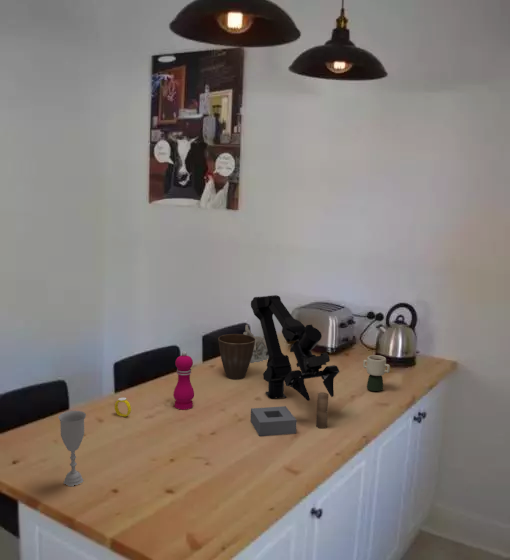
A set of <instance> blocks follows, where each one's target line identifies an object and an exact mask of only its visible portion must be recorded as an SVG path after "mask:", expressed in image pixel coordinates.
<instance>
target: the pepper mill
mask: <svg viewBox="0 0 510 560" xmlns="http://www.w3.org/2000/svg"><path fill="white" fill-rule="evenodd" d="M174 363H175V367H176V374H177V383H176V386H175V388H174V391H173V395H172V396H173V398H174V408H175V409H177V410H183V411H184V410H190V409H192V408H193V405H194V404H193V403H194V402H193V399H194V397H195V391H194V387H193V386H192V383H191V374H192V367H193V365H194V361H193V359H192V357H191V356H189V355H188V353H187V351H185V350H183V351H182V352H181V355H180V356H178V357H177V358H176V359H175V362H174Z"/></svg>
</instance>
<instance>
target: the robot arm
mask: <svg viewBox="0 0 510 560" xmlns="http://www.w3.org/2000/svg"><path fill="white" fill-rule="evenodd" d="M250 306H251V307H250V308H251V309H252V312H253V315H254V316H255V317H256V319H258V320H259V322H260V325H261V329H262V334H263V336H264V338H265V342H266V346H267V350H268V354H269V359H268V360H267V362H266V367H267V368H266V369H265V370H264V371H263V373H262V375H263V376H262V378H263V380H264V381H266V382H267V383H268V386H267V387H268V389H267V391H265V395H266V396H267V397H268V398H269V399H270V400H271V399H275V400H276V399H286V398H287V395H286V394H285V393H284V389H285V386H286V387H289V388H290V389H291V388H293V389H294V390H295V391H296V392H297V393H299V394H300V395H301V396H302V397H303V398H304V399H305V400H306V401H308V402H310V400H311V398H310V395H309V392H308V389H307V387H306V384H305V380H307V379H313V378H315V379H316V378H319V377H321V379H322V380H323V381H322V383H323V385H324V387H325V389H326V391H327V394H328V395H329V396H330V397H331V398H334V396H335V395H334V393H335V392H334V382H335V381H334V380H335V379H334V378H336V377H337V375H338V374H339V373H340V370H339V367H338V366H337V365H335V364H334V365H333V364H332V365H327V363H329V362H330V360H331V359H330V356H329V354H328V352H322V353H320V355H316V354H313V352H312V350H313V349H315V347H316V346H317V344H319V342H320V341H321V340H322V337H323V335H322V332H321V331H320V330H319V329H318V328H316V327H313V324H306V325H304V324H303V323H302V322H301V321H300V320H298V319H296V318H295V317H293V316H292V314H291V313H290V311H289V310H288V309H287V307H286V306H285V304H284V303H283V301H282V299H281V297H280V296H279V295H277V294H274V295H265V296H254V297H253V298H252V299H251V301H250ZM273 315H274V317H275V319H276V320H277V321H278V323H279V324H280V326H281V334H282V336H283V338H284V341H286V342H289V343H290V342H293V343H292V344H291V346H290V348H289V349H290V350H289V352H290V353H293V354H294V356H295V357H294V358H295V359H296V362H297V363H296V364H295V365H296V367H297V368H299V369H300V370H299V369H296V370H295V369H294V370H292V364H291V362H290V358H289V356H288V355H287V354H285V353H284V352H282V348H281V345H280V344H281V343H280V340H279V337H278V333H277V329H276V326H275V320H274V318H273ZM322 366H325V367H324V369H323V370H320V369H322Z"/></svg>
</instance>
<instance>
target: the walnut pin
mask: <svg viewBox="0 0 510 560" xmlns="http://www.w3.org/2000/svg"><path fill="white" fill-rule="evenodd" d="M316 397H317V399H316V417H315V419H316V422H315V426H316V428H317V427H318V429H326V428H327V427H328V412H329V411H328V409H329V408H328V407H329V393H328V392H317V396H316Z"/></svg>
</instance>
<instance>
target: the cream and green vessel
mask: <svg viewBox="0 0 510 560" xmlns="http://www.w3.org/2000/svg"><path fill="white" fill-rule="evenodd" d="M362 367H363V368H364V369H366V373H367V374H368V378H367V383H366V389H368V390H369V391H372V392H376V391H377V392H379V391H383V390H384V381H383V380H384V379H383V376H384V375H385V374H387V373H388V374H389V373H390V371H391V365H390V364H388V363H387V358H386V357H385V356H383V355H375V354H373V355H368V356H367V359H363V364H362ZM386 367H387V368H386Z"/></svg>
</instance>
